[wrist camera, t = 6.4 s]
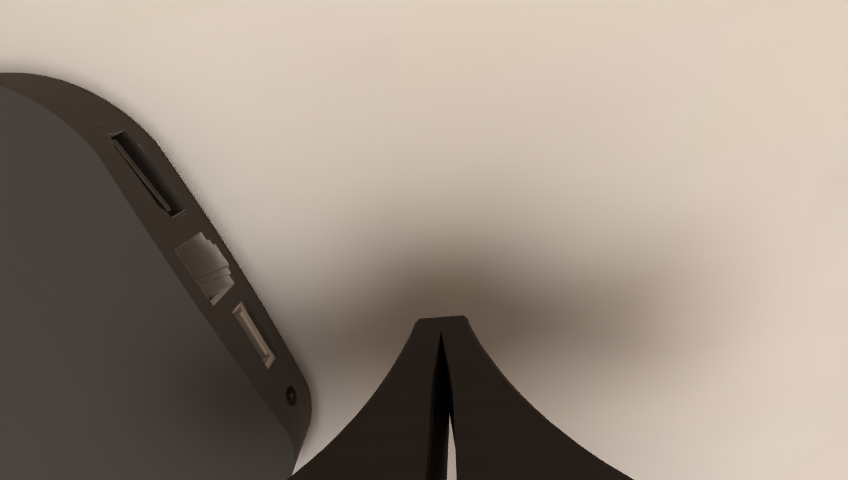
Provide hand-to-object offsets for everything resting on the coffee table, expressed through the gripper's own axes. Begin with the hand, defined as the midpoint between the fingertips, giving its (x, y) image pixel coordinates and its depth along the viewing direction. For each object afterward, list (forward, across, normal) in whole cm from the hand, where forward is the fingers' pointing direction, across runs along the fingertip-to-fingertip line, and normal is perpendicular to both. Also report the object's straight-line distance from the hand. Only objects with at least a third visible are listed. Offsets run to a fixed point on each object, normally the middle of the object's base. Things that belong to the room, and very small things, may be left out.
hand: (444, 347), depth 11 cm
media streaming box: (+2, +13, 0) cm, 13 cm away
